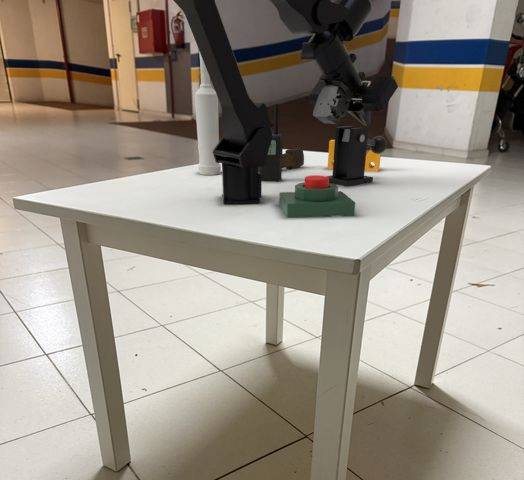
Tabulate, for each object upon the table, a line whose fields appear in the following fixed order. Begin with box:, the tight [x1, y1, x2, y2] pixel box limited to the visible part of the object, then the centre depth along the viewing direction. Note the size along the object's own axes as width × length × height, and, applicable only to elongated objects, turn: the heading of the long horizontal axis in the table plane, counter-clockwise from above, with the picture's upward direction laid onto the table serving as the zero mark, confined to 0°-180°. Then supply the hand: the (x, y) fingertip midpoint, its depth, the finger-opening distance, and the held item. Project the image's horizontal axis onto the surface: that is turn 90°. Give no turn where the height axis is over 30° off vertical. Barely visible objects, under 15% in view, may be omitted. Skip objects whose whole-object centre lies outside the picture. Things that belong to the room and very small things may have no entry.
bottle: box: [193, 50, 222, 176], centre depth 110 cm, size 5×5×25 cm
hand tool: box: [258, 147, 305, 172], centre depth 117 cm, size 19×4×5 cm, turn 135°
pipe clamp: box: [327, 139, 381, 172], centre depth 119 cm, size 12×4×6 cm, turn 73°
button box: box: [278, 182, 356, 219], centre depth 82 cm, size 11×9×4 cm
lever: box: [342, 129, 388, 155], centre depth 104 cm, size 12×4×4 cm, turn 128°
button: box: [303, 175, 329, 189], centre depth 81 cm, size 4×4×2 cm
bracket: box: [326, 125, 374, 188], centre depth 103 cm, size 8×7×11 cm
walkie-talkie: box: [259, 103, 284, 183], centre depth 104 cm, size 5×3×15 cm
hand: (367, 124), depth 103 cm, fingers closed
